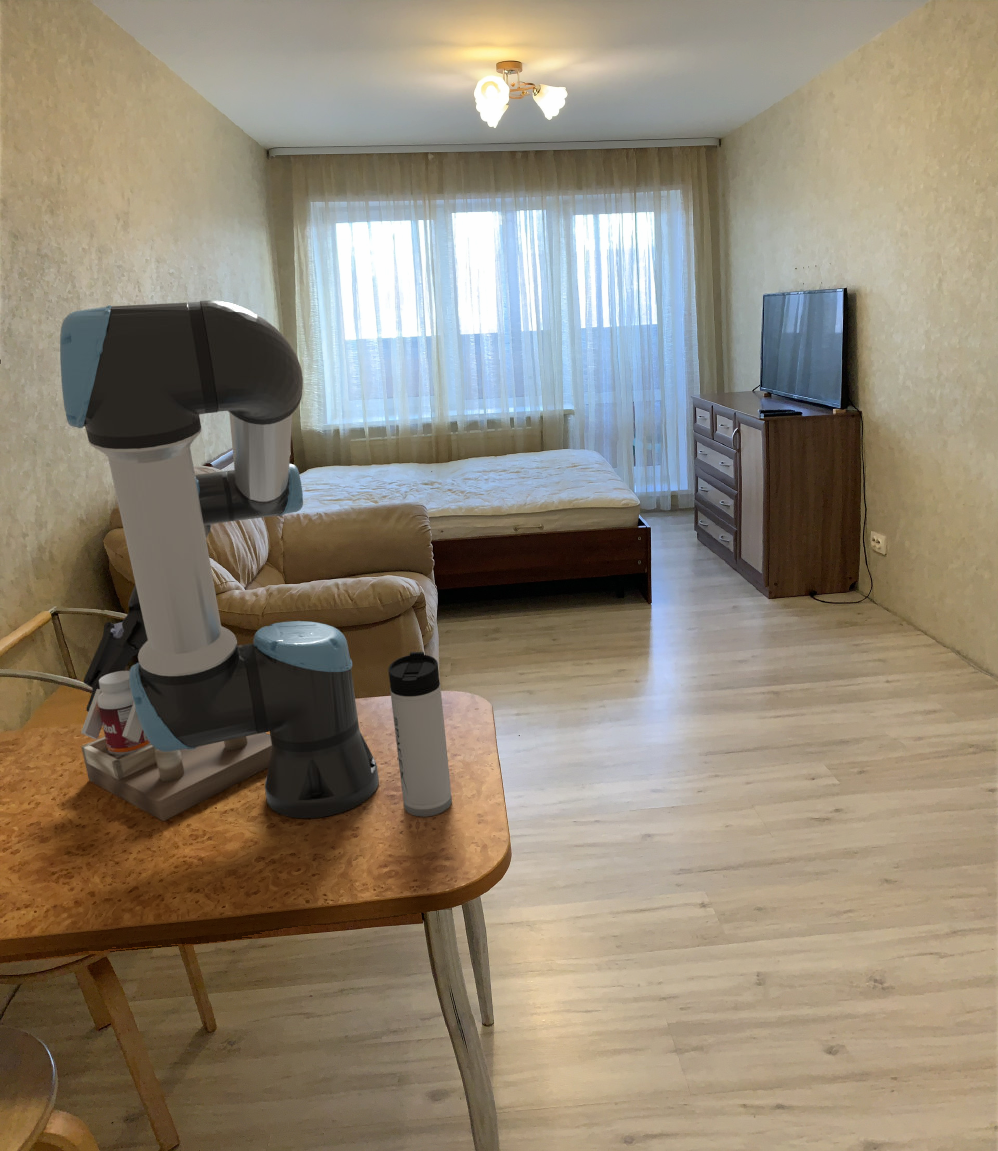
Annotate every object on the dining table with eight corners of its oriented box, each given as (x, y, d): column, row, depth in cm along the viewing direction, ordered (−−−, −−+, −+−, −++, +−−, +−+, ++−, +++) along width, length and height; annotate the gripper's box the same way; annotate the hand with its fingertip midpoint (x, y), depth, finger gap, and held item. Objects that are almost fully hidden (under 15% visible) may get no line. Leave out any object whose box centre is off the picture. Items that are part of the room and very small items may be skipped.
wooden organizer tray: (286, 757, 131) (279, 714, 129) (163, 821, 116) (153, 773, 114) (208, 726, 143) (201, 686, 141) (88, 780, 128) (79, 736, 126)
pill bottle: (102, 747, 128) (87, 677, 125) (145, 733, 132) (131, 664, 129) (116, 762, 123) (99, 689, 120) (160, 746, 127) (145, 675, 124)
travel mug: (455, 790, 118) (441, 650, 112) (448, 817, 112) (433, 670, 106) (409, 791, 119) (393, 652, 113) (399, 818, 112) (382, 672, 107)
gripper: (229, 602, 134) (183, 750, 124) (123, 599, 140) (70, 741, 129) (202, 579, 128) (152, 733, 117) (93, 577, 133) (35, 724, 123)
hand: (109, 737), depth 123 cm, fingers closed on pill bottle, 6 cm apart
